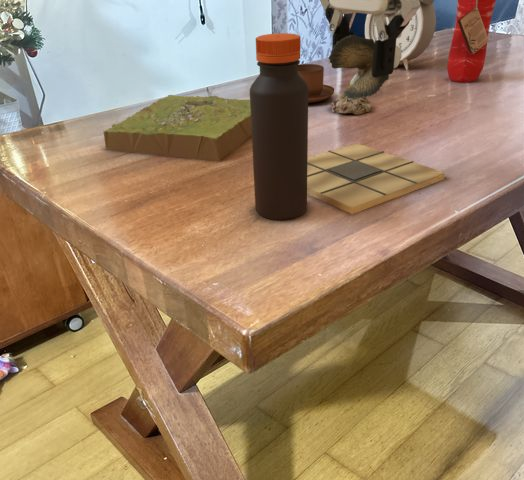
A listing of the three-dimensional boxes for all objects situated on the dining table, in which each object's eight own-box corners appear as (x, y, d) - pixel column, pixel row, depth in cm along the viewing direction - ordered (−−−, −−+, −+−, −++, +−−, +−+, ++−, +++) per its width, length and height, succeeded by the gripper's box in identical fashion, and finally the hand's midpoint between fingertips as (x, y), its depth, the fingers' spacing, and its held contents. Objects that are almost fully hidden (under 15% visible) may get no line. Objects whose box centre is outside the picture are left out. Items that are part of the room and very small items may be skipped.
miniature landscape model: (105, 150, 94) (98, 120, 90) (172, 113, 110) (168, 86, 107) (218, 161, 87) (215, 129, 84) (271, 120, 104) (270, 92, 101)
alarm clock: (358, 66, 138) (365, -39, 125) (376, 60, 143) (384, -42, 130) (417, 73, 130) (431, -40, 116) (433, 66, 135) (449, -43, 121)
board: (444, 179, 77) (445, 171, 76) (351, 214, 69) (352, 205, 68) (356, 149, 89) (356, 141, 88) (268, 176, 81) (268, 168, 80)
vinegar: (245, 215, 70) (234, 40, 58) (272, 196, 75) (267, 30, 62) (291, 225, 67) (289, 43, 55) (316, 205, 72) (320, 33, 59)
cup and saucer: (292, 110, 108) (292, 77, 104) (268, 97, 117) (267, 66, 113) (344, 102, 112) (346, 69, 108) (316, 90, 121) (317, 59, 117)
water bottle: (479, 88, 116) (507, -57, 100) (440, 87, 118) (462, -56, 103) (483, 76, 125) (509, -60, 109) (447, 74, 127) (468, -59, 111)
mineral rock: (372, 104, 101) (332, 90, 101) (364, 127, 104) (325, 114, 104) (378, 92, 109) (340, 79, 110) (370, 113, 112) (334, 101, 113)
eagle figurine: (340, 71, 75) (314, 71, 68) (373, 22, 71) (348, 16, 64) (380, 108, 75) (357, 111, 68) (415, 60, 70) (395, 58, 63)
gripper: (461, -116, 55) (433, 76, 66) (344, -105, 66) (337, 57, 77) (410, -115, 52) (390, 87, 63) (297, -104, 63) (296, 65, 74)
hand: (361, 69), depth 70 cm, fingers closed on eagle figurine, 6 cm apart
